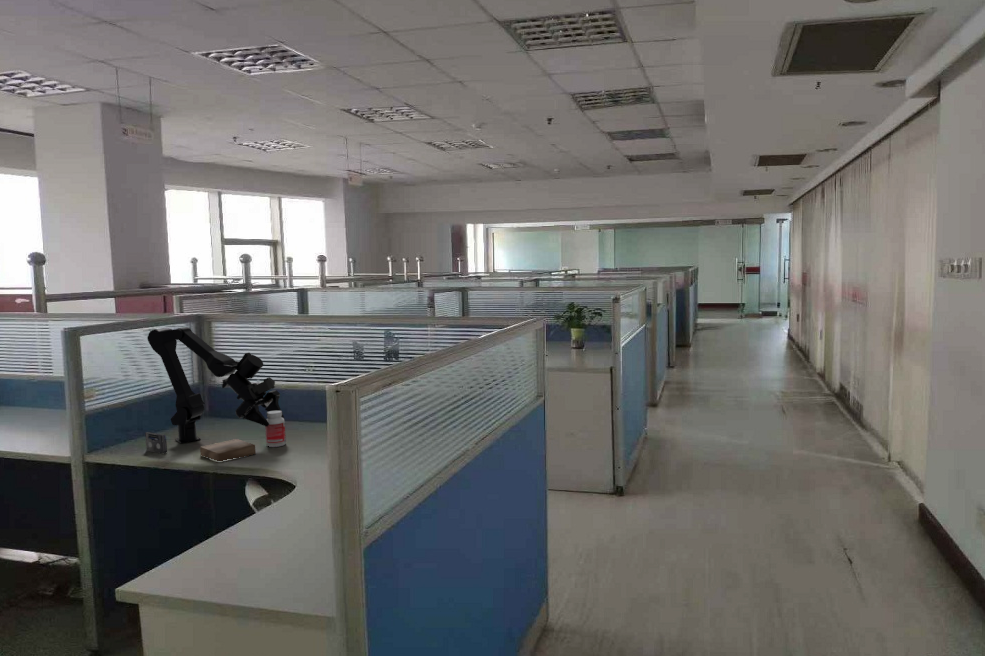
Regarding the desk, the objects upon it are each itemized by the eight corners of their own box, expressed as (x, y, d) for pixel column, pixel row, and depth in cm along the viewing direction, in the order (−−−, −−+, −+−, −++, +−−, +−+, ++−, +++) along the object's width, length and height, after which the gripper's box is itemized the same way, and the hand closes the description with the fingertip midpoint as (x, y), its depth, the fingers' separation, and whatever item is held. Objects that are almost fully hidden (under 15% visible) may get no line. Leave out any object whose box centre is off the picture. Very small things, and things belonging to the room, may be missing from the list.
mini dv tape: (167, 452, 232) (165, 434, 231) (163, 454, 230) (161, 435, 230) (150, 449, 236) (149, 431, 235) (146, 450, 234) (145, 432, 234)
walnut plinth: (200, 456, 227) (200, 446, 226) (236, 447, 235) (236, 438, 235) (219, 463, 219) (218, 453, 218) (255, 454, 227) (255, 445, 227)
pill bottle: (288, 445, 237) (286, 412, 236) (269, 448, 233) (267, 414, 232) (282, 441, 242) (280, 408, 241) (264, 444, 239) (262, 411, 237)
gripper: (241, 376, 227) (275, 411, 226) (273, 366, 245) (304, 399, 244) (221, 400, 230) (254, 435, 229) (254, 388, 248) (285, 421, 247)
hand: (275, 422), depth 237 cm, fingers open, 9 cm apart
